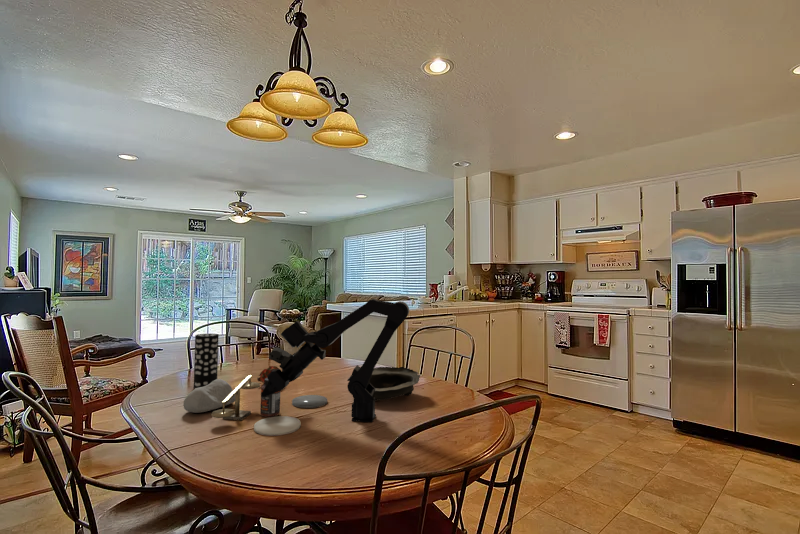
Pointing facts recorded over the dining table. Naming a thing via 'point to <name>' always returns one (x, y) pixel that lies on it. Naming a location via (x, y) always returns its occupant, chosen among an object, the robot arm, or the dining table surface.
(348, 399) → the dining table surface
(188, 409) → the decorative stone
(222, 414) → the balance
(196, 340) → the white-spotted black cylinder
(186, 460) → the dining table surface
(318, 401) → the slate dish
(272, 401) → the supplement bottle
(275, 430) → the cream dish
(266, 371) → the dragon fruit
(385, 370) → the stone bowl
